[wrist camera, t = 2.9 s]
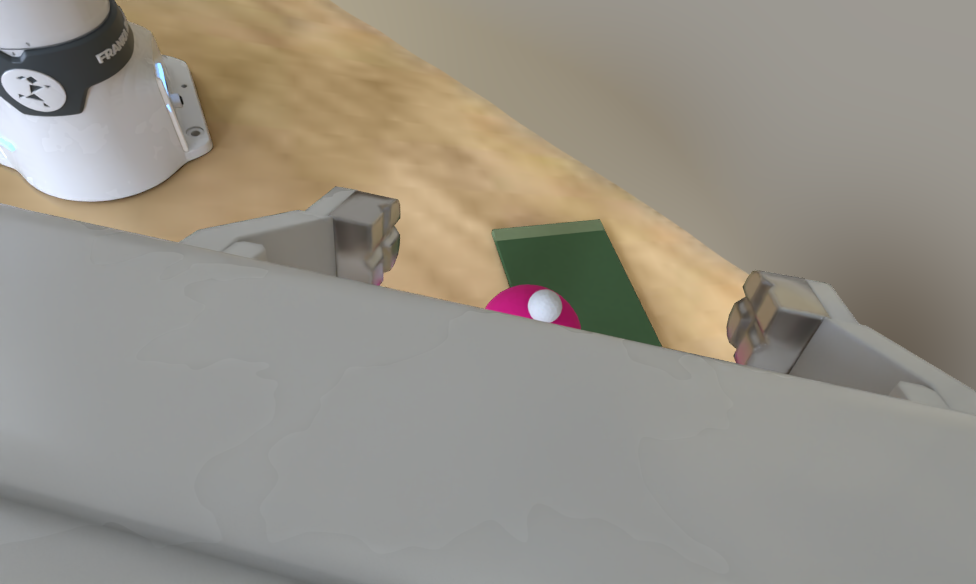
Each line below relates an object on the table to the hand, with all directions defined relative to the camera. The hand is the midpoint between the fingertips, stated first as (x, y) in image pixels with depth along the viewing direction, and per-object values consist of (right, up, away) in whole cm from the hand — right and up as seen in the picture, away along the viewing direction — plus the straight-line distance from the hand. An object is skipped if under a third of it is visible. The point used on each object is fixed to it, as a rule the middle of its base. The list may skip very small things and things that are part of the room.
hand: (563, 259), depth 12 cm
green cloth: (+7, -2, +39) cm, 39 cm away
